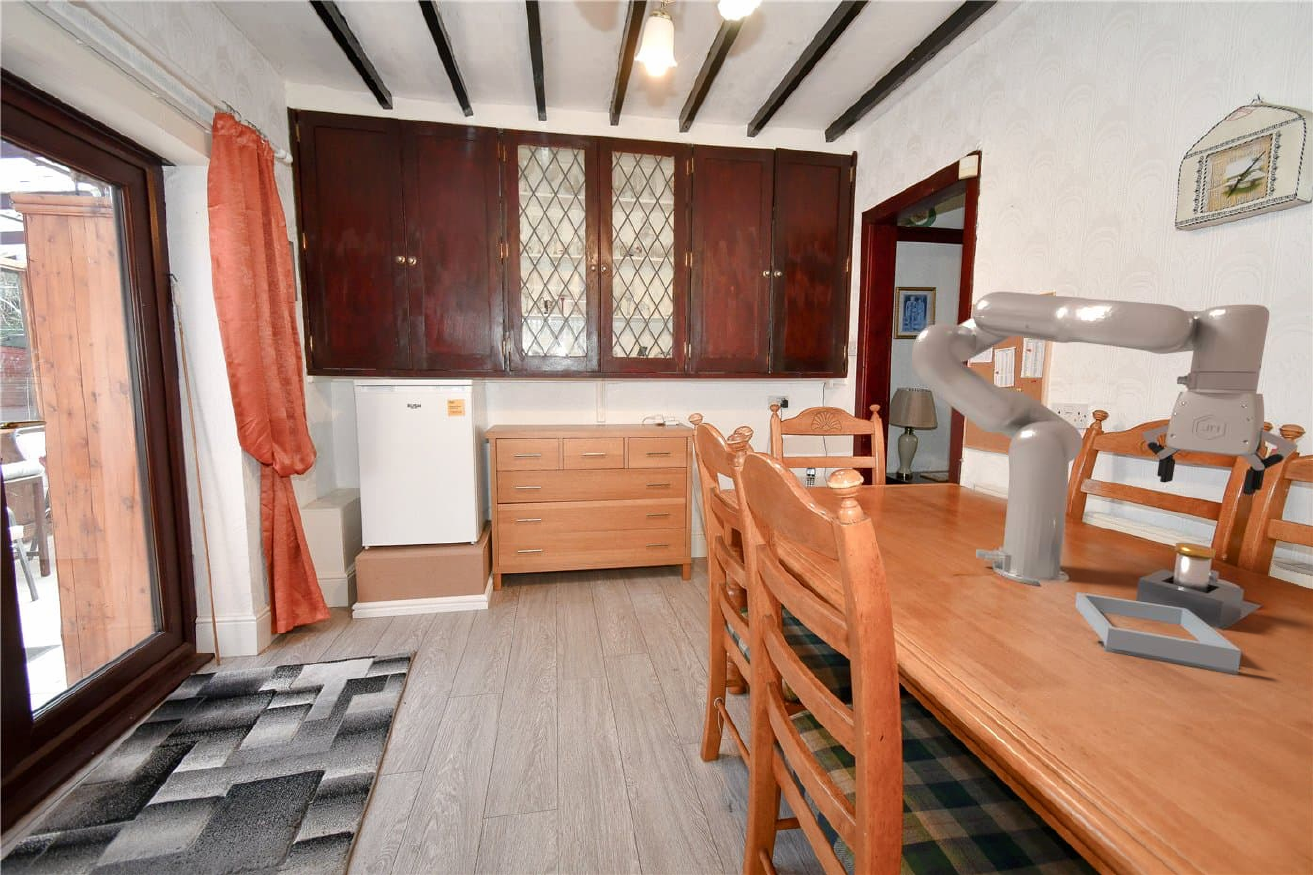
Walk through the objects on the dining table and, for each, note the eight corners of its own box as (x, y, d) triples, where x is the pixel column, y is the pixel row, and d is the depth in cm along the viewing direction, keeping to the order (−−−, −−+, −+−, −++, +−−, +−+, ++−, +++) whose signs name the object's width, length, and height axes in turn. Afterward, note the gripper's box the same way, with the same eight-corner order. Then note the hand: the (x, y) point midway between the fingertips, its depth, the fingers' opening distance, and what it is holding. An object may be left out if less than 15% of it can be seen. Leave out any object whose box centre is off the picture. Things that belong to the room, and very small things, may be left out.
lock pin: (1175, 612, 85) (1184, 549, 84) (1162, 601, 89) (1170, 541, 88) (1212, 617, 83) (1222, 553, 82) (1197, 606, 87) (1206, 545, 86)
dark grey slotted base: (1222, 636, 79) (1227, 599, 78) (1131, 607, 88) (1135, 575, 88) (1261, 611, 88) (1266, 578, 87) (1174, 587, 97) (1178, 558, 97)
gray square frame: (1105, 650, 74) (1108, 628, 74) (1074, 611, 87) (1076, 592, 86) (1237, 675, 68) (1241, 650, 68) (1183, 629, 81) (1186, 608, 81)
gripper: (1141, 382, 87) (1128, 479, 89) (1301, 385, 72) (1280, 501, 74) (1159, 382, 91) (1145, 476, 93) (1314, 385, 76) (1293, 496, 78)
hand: (1205, 487), depth 84 cm, fingers open, 9 cm apart
